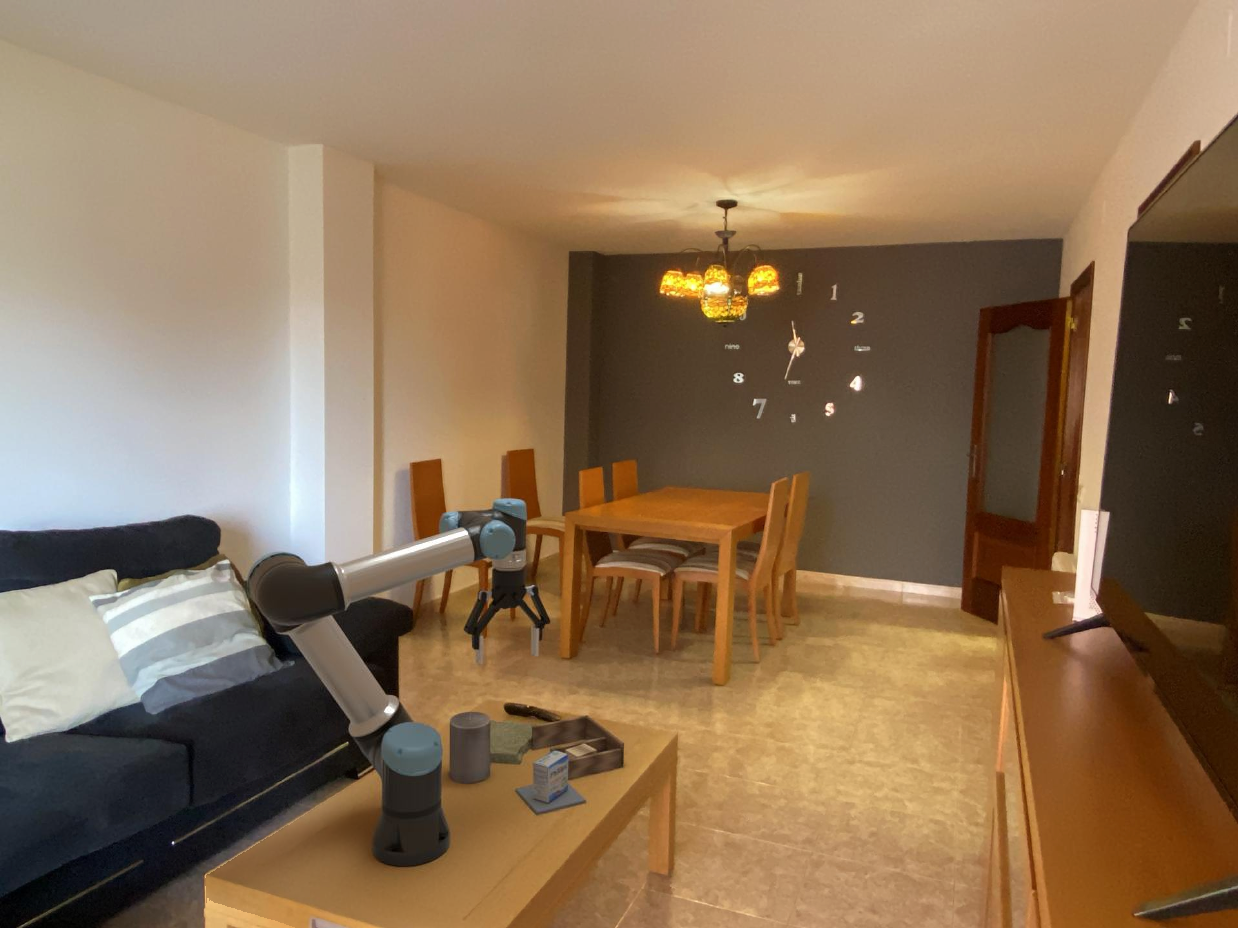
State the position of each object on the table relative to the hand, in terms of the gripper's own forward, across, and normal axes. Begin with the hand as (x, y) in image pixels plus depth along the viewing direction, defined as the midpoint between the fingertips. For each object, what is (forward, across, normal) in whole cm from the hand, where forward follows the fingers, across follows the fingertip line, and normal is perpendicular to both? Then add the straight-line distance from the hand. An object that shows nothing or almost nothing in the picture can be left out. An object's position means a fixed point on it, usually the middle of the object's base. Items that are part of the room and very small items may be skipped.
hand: (507, 658), depth 191 cm
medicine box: (+30, +8, -9) cm, 32 cm away
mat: (+31, +8, -8) cm, 33 cm away
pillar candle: (+31, -5, +10) cm, 33 cm away
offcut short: (+29, +20, +2) cm, 35 cm away
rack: (+31, +22, +7) cm, 38 cm away
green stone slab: (+31, +7, +22) cm, 39 cm away
